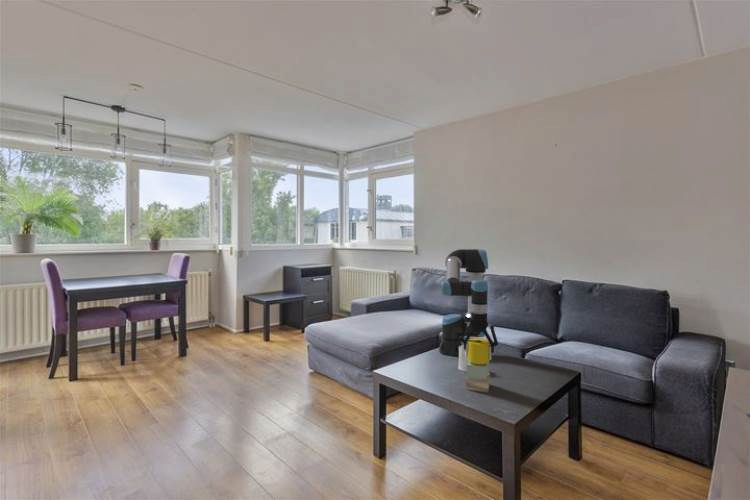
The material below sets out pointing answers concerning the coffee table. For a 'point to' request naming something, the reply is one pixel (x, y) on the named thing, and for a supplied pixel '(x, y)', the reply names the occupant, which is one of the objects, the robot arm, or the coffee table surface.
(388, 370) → the coffee table surface
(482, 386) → the base block
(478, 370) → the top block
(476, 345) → the yellow hollow cylinder
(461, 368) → the mug
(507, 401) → the coffee table surface
